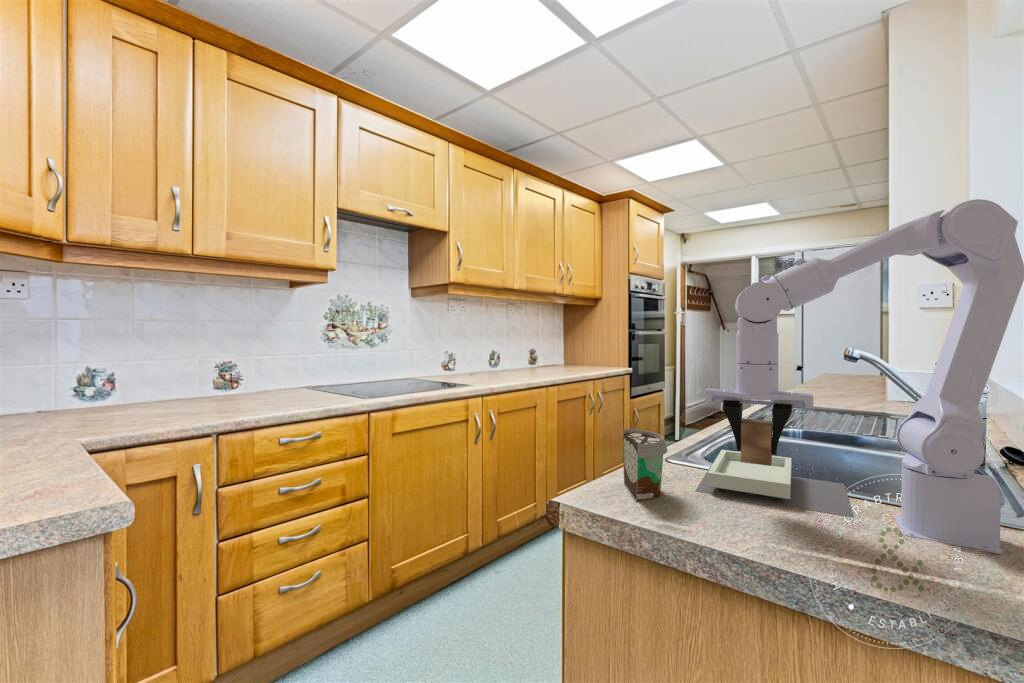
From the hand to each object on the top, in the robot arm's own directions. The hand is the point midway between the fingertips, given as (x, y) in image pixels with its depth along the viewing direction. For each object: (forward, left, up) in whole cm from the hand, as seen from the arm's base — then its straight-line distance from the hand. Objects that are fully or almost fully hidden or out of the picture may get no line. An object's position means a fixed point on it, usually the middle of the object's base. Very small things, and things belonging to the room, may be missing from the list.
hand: (756, 451), depth 71 cm
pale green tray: (+2, -12, -9) cm, 15 cm away
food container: (+17, +1, -10) cm, 19 cm away
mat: (-1, -12, -9) cm, 15 cm away
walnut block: (0, 0, -1) cm, 1 cm away
